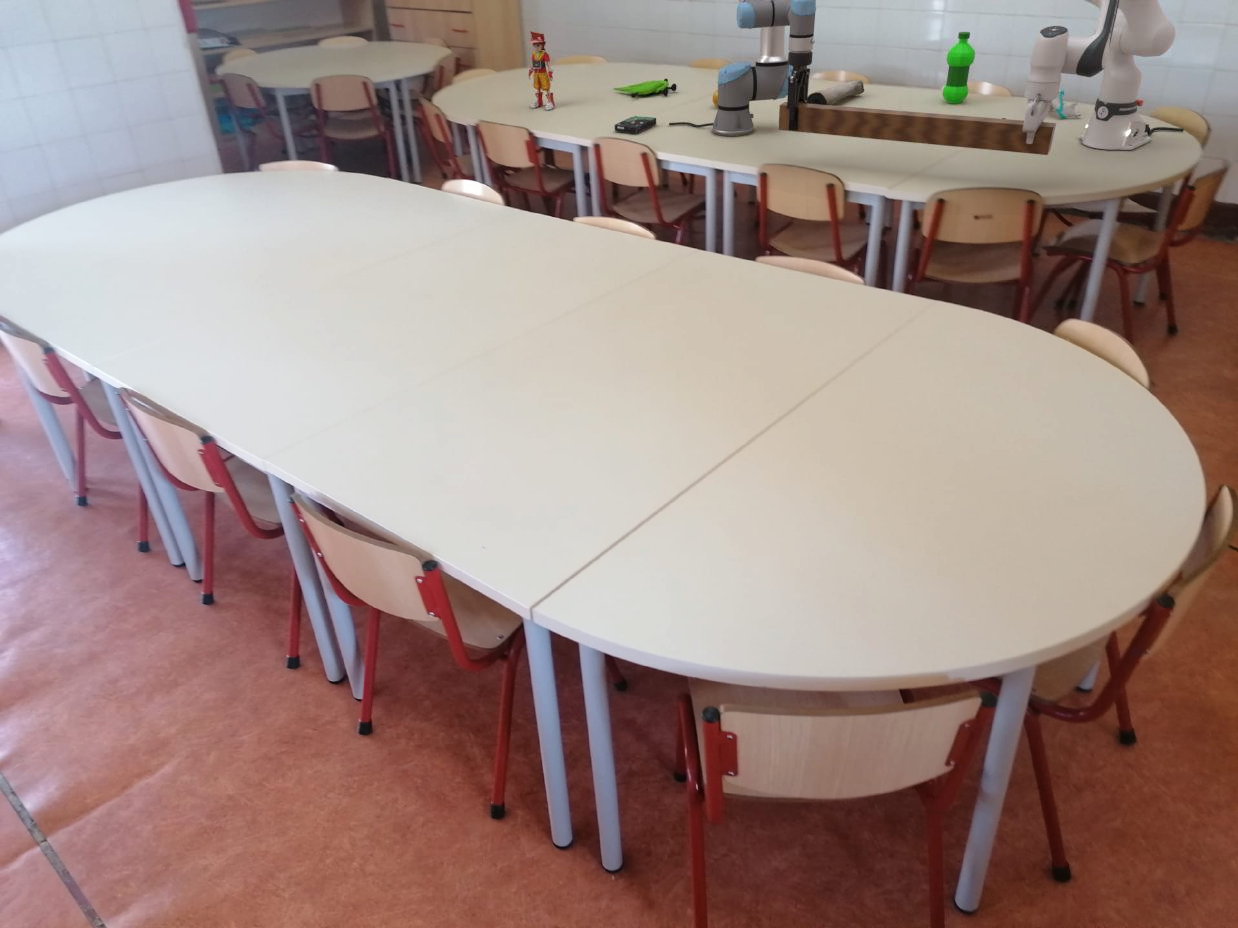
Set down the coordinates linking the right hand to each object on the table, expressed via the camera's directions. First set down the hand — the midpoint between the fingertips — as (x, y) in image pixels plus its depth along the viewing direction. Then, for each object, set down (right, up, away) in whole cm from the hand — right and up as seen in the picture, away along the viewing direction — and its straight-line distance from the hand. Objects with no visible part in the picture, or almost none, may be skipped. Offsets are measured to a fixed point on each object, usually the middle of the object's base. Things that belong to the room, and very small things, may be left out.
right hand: (1031, 140), depth 262 cm
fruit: (-78, +52, +105) cm, 141 cm away
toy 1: (-153, +58, +121) cm, 204 cm away
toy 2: (-111, +70, +135) cm, 189 cm away
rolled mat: (-33, +52, +102) cm, 120 cm away
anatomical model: (+42, +35, +70) cm, 89 cm away
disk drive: (-114, +35, +85) cm, 147 cm away
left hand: (-62, +16, +33) cm, 73 cm away
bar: (-31, +7, +18) cm, 36 cm away
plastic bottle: (+12, +49, +93) cm, 106 cm away
